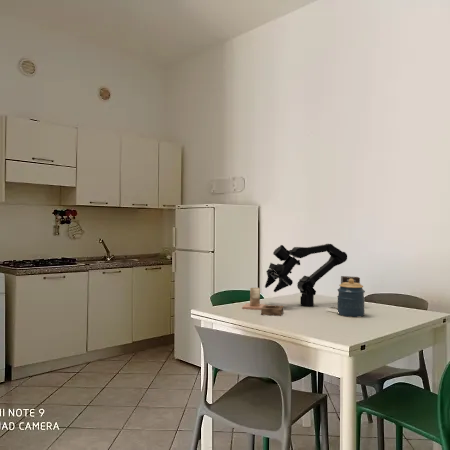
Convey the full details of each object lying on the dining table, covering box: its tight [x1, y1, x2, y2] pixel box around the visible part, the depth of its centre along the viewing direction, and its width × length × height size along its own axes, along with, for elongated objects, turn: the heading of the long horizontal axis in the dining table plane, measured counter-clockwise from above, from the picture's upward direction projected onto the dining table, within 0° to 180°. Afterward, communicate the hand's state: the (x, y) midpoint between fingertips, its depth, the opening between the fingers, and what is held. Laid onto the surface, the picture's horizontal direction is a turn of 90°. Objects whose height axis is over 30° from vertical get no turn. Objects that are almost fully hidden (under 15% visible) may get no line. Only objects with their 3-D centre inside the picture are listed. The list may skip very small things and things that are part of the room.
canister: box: [336, 279, 366, 318], centre depth 215 cm, size 13×13×18 cm
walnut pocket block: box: [260, 304, 284, 317], centre depth 214 cm, size 10×10×3 cm
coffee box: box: [340, 275, 361, 284], centre depth 236 cm, size 9×6×16 cm
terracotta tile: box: [241, 302, 267, 311], centre depth 229 cm, size 11×11×1 cm
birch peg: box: [249, 287, 261, 307], centre depth 229 cm, size 5×5×9 cm
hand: (269, 289), depth 232 cm, fingers open, 9 cm apart
